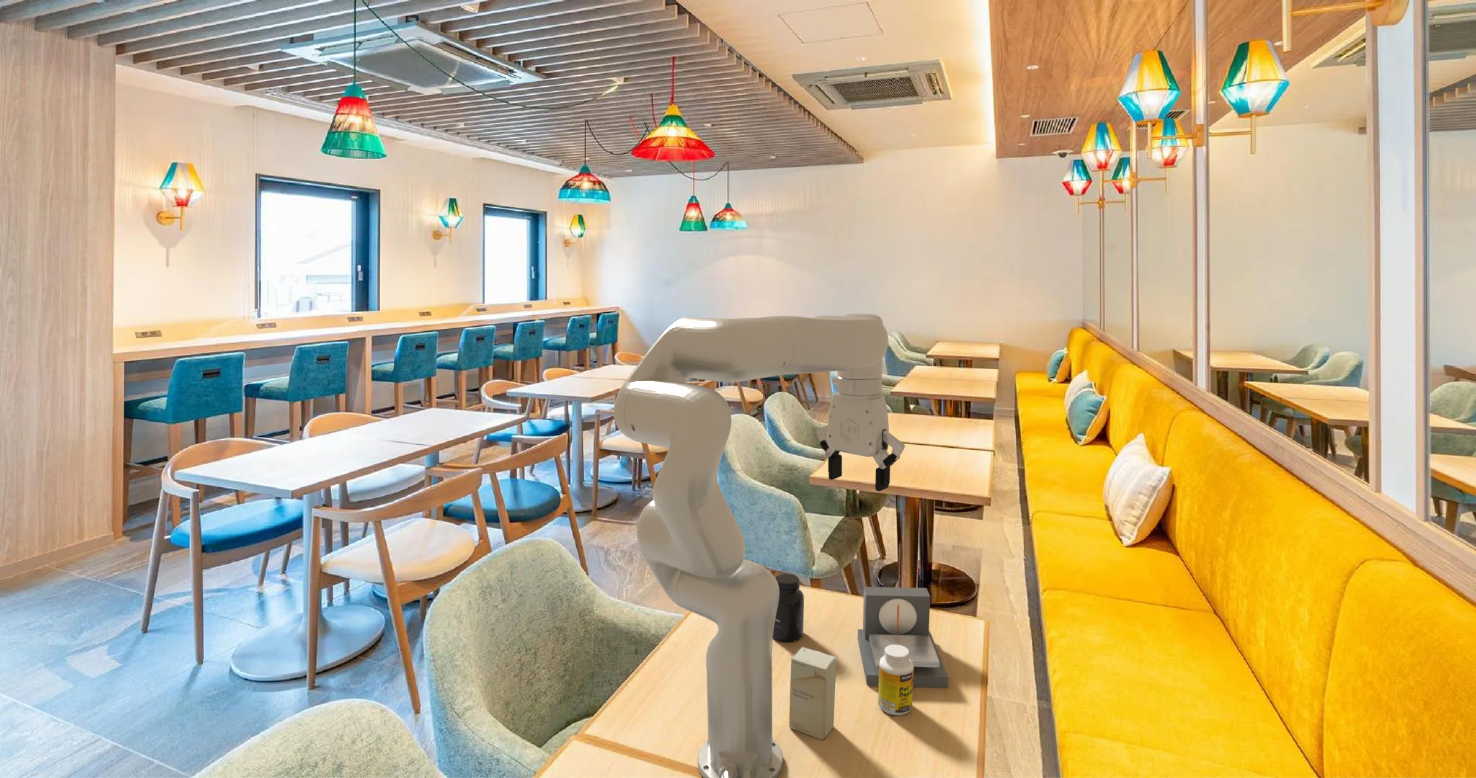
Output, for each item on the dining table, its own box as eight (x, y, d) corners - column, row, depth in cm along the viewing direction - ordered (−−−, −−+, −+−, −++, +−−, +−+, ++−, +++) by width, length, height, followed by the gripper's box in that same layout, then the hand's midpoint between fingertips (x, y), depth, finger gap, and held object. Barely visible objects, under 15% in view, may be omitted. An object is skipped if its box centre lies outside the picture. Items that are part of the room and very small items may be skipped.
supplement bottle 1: (765, 640, 141) (765, 583, 139) (774, 623, 147) (774, 569, 145) (799, 645, 139) (800, 587, 137) (806, 628, 145) (807, 573, 143)
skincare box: (788, 728, 114) (788, 658, 112) (800, 713, 118) (801, 645, 116) (824, 741, 111) (825, 669, 109) (836, 725, 114) (837, 655, 112)
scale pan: (939, 672, 125) (939, 661, 124) (875, 670, 125) (875, 660, 125) (928, 645, 133) (929, 635, 133) (869, 644, 134) (869, 634, 134)
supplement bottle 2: (899, 721, 115) (901, 663, 114) (871, 706, 119) (872, 650, 117) (918, 706, 119) (920, 650, 117) (890, 692, 123) (892, 637, 121)
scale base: (947, 687, 124) (950, 628, 123) (866, 685, 125) (868, 627, 123) (929, 640, 140) (931, 587, 138) (857, 638, 141) (858, 586, 139)
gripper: (805, 384, 125) (805, 478, 128) (892, 396, 113) (889, 499, 116) (831, 379, 130) (830, 469, 133) (916, 389, 118) (913, 488, 121)
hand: (858, 483), depth 124 cm, fingers open, 9 cm apart
